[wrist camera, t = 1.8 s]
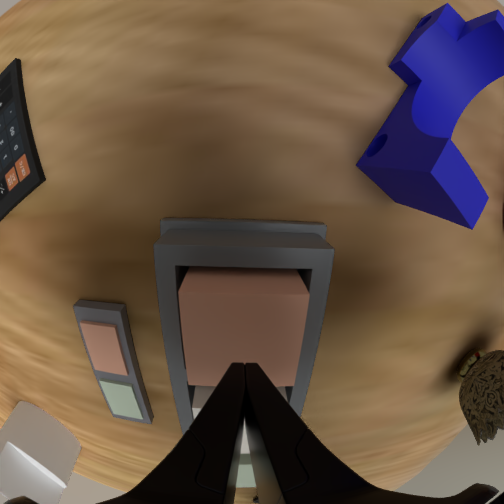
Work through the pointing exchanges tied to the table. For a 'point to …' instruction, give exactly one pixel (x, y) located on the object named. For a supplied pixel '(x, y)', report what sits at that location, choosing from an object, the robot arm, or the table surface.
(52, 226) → the table surface
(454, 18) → the cable clip
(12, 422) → the cylinder with rectangular tab
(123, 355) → the strip
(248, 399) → the robot arm
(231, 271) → the terracotta key
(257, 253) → the keypad
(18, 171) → the calculator
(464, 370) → the cup
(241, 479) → the sage key
